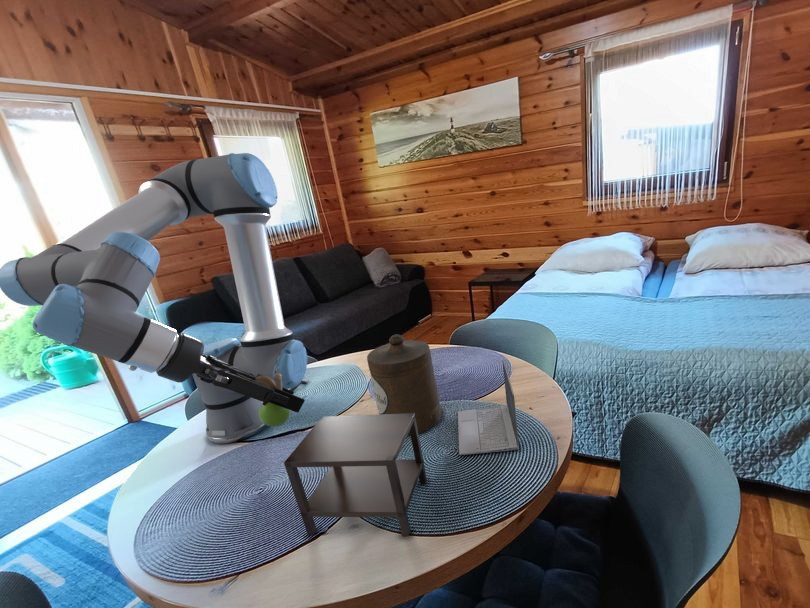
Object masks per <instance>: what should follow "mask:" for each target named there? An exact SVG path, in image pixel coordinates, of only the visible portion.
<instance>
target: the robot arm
mask: <svg viewBox="0 0 810 608" xmlns="http://www.w3.org/2000/svg"><path fill="white" fill-rule="evenodd" d="M277 189H278V188H277V185H276V183H275V180H274V177H273V175H272V173H271V172H270V170H269V168H268V167H267V166H266V165H265V163H264V162H263V161H262V160H261V159H260V158H259V157H258V156H257V155H254V154H252V153H249V152H242V153H241V152H240V153H233V152H231V153H228V154H224V155H216V156H211V157H203V158H198V159H197V158H196V159H188V160H185V161H182V162H180V163H179V162H178V164H175V165H173V166H171V167H169V168H167V169H165V170H164V171H162V172H160V173H158V174H157V175H154V176H153V177H151V178H150V179H148V180H146V181H145V182H143V183H142V184H141V185H140V186H139V188H138V193H137V194H135V195H133V196H132V197H130V198H129V199H127V200H125V201H124V202H122V203H121V204H119V205H117V206H116V207H114V208H112V209H111V210H109V211H107V212H106V213H104V214H103V215H101V216H99V217H98V218H96V219H95V220H92V221H91V222H89V223H88V224H86V225H84V226H83V227H81V228H80V229H78V230H76V231H75V232H73V233H71V234H70V235H68V236H67V237H65V238H63V239H62V240H60V241H58V242H57V243H55V244H53V245H51V246H50V247H48V248H46V249H44V250H42V251H41V252H39V253H38V254H36V255H34V256H30V257H28V256H25V257H19V258H17V259H13V260H10V261H7V262H5V263H4V264H3V265H2V266H1V267H0V291H2V293H3V294H4V295H5V296H6V297H7V298H8V299H9V300H11V301H13V302H14V303H17V304H19V305H22V306H28V307H36V306H37V307H38V306H41V308H39V310H38V312H37V314H36V315H35V317H34V319H33V320H32V323H31V326H32V328H33V330H34V332H36V333H38V334H39V335H42V336H44V337H46V338H48V339H49V340H50V339H51V340H54V341H55V342H59V343H60V344H63V345H65V346H67V347H69V348H76V349H78V350H81V351H85V352H88V353H91V354H94V355H97V356H99V357H103V358H107V359H110V360H113V361H115V362H118V363H121V364H125V365H126V366H128V370H130V371H131V372H135V371H136V370H137V369H140V370H141V371H145V372H147V373H150V374H152V373H155V372H156V375H157V376H158V377H160V378H164V379H165V380H169V381H172V382H174V383H179V384H181V383H183V382H185V381H187V380H188V379H189V378H190V377H191V376H192V378H193V381H194V383H195V385H196V388H197V390H198V392H199V395H200V398H201V400H202V403H203V405H204V408H205V410H206V411H205V412H206V415H205V417H206V418H205V422H206V426H205V432H206V436H207V439H208V441H210V443H212V444H218V445H219V444H220V445H223V444H232V443H236V442H239V441H240V442H241V441H243V440H246V439H248V438H250V437H253V436H255V435H257V434H258V433H260V432H262V431H263V430H264V429H266V428H267V427H268V426H267V425H265V424H264V423H263V422H262V421H261V420H260V417H259V409H260V406H261V405H262V404H263V405H265V406H266V404H267V403H272V404H275V405H278V406H280V407H283V408H286V409H289V410H290V412H291V411H292V412H294V413H297V414H299V412H300V411H301V410H302V409H301V408H302V407H303V405H304V403H305V401H306V399H304V398H303V397H300V396H297V395H295V394H294V393H295V392H294V391H295V390H297V388H298V387H300V386H301V385H306V384H308V381H305V380H304V378H305V375H306V371H307V368H308V352H307V349H306V347H305V345H304V343H303V342H302V341H300V340H298V339H295V337H294V332H293V331H292V330H290V329H289V328H287V327H286V325H285V320H284V316H283V310H282V306H281V301H280V300H281V299H280V295H279V290H278V284H277V279H276V274H275V269H274V262H273V258H272V252H271V248H270V242H269V238H268V232H267V231H268V230H267V227H266V225H267V223H268V222H269V220H271V217H272V215H271V211H270V208H273V207H274V206H276V204H277V203H278V190H277ZM206 215H213V217H214V218H213V219H214V221H215V222H217V223H218V224H220V226H222V228H223V230H224V235H225V239H226V244H227V249H228V253H229V258H230V263H231V268H232V273H233V278H234V282H235V287H236V292H237V297H238V301H239V306H240V310H241V316H242V320H243V326H244V330H245V332H244V334H243V335H242V337H241V338H240V340H238V339H237V338H236V337H228V338H224V339H221V340H218V341H214V342H212V343H209V344H206V345H204V342H203V341H202V340H200V339H198V338H195V337H193V336H191V335H188V334H186V333H184V332H181V333H178V332H177V329H175V328H172V327H170V326H168V325H166V324H163V323H162V322H158V321H156V320H154V319H151V318H148V317H146V316H143V315H141V314H139V313H137V310H138V309H139V307H140V303H142V300H143V298H144V296H145V294H146V292H147V290H148V288H149V287H150V284H151V283H152V281H153V279H154V278H155V277H156V272H157V269H158V266H159V264H160V261H161V255H160V252H159V251H158V249H157V248H156V247H155V246H154V245H153V244H151V242H150V240H153V238H154V237H156V236H157V235H158V234H160V233H161V232H162V231H164V230H165V229H166V228H168V227H169V226H177V225H180V224H182V223H183V222H185V221H186V220H188V219H190V218H194V217H199V216H206ZM277 367H279V368H280V370H278V371H277V372H275V369H277ZM279 371H280V372H279ZM276 373H279V374H281V376H282V379H281V381H282V390H280V389H277V388H274V387H269V386H266V385H264V384H261V383H259V382H257V381H254V380H255V379H256V378H257V377H259V376H267V377H269V378H271V379H272V380H273V381H274V382H275V380H274V375H275V374H276Z"/></svg>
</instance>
